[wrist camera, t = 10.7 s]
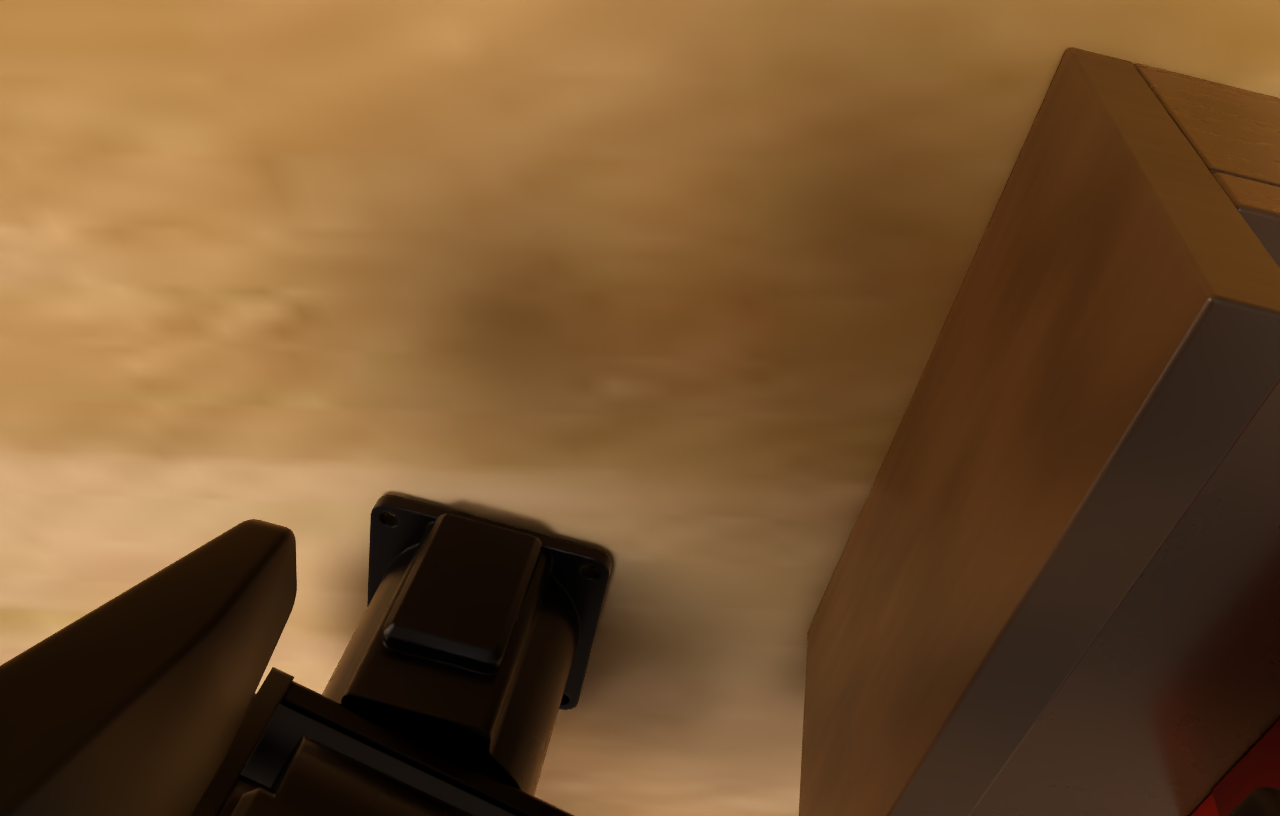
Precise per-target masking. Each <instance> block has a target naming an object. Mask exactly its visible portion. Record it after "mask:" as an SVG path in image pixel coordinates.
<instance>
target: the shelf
mask: <svg viewBox="0 0 1280 816" xmlns="http://www.w3.org/2000/svg"><path fill="white" fill-rule="evenodd" d="M1279 719H1280V99H1279V98H1275V97H1271V96H1267V95H1263V94H1259V93H1255V92H1251V91H1247V90H1243V89H1239V88H1235V87H1231V86H1227V85H1223V84H1219V83H1215V82H1211V81H1207V80H1203V79H1199V78H1194V77H1190V76H1186V75H1182V74H1178V73H1174V72H1170V71H1166V70H1162V69H1158V68H1154V67H1150V66H1146V65H1142V64H1135V65H1133V64H1132V63H1131V62H1129V61H1125V60H1121V59H1117V58H1112V57H1108V56H1104V55H1100V54H1096V53H1092V52H1088V51H1084V50H1080V49H1076V48H1068V49H1067V50H1066V52H1065V54H1064V56H1063V58H1062V61H1061V63H1060V65H1059V67H1058V70H1057V72H1056V74H1055V76H1054V79H1053V81H1052V83H1051V85H1050V88H1049V90H1048V92H1047V94H1046V97H1045V99H1044V101H1043V103H1042V106H1041V108H1040V110H1039V113H1038V115H1037V117H1036V119H1035V122H1034V124H1033V126H1032V128H1031V131H1030V133H1029V135H1028V137H1027V140H1026V142H1025V144H1024V146H1023V149H1022V151H1021V153H1020V155H1019V158H1018V160H1017V162H1016V164H1015V167H1014V169H1013V171H1012V173H1011V176H1010V178H1009V180H1008V182H1007V185H1006V187H1005V189H1004V191H1003V194H1002V196H1001V198H1000V200H999V203H998V205H997V207H996V209H995V212H994V214H993V216H992V218H991V221H990V223H989V225H988V227H987V230H986V232H985V234H984V236H983V239H982V241H981V243H980V245H979V248H978V250H977V252H976V254H975V257H974V259H973V261H972V263H971V266H970V268H969V270H968V273H967V275H966V277H965V279H964V282H963V284H962V286H961V288H960V291H959V293H958V295H957V297H956V300H955V302H954V304H953V306H952V309H951V311H950V313H949V315H948V318H947V320H946V322H945V324H944V327H943V329H942V331H941V333H940V336H939V338H938V340H937V342H936V345H935V347H934V349H933V351H932V354H931V356H930V358H929V360H928V363H927V365H926V367H925V369H924V372H923V374H922V376H921V378H920V381H919V383H918V385H917V387H916V390H915V392H914V394H913V396H912V399H911V401H910V403H909V405H908V408H907V410H906V412H905V414H904V417H903V419H902V421H901V424H900V426H899V428H898V430H897V433H896V435H895V437H894V439H893V442H892V444H891V446H890V448H889V451H888V453H887V455H886V457H885V460H884V462H883V464H882V466H881V469H880V471H879V473H878V475H877V478H876V480H875V482H874V484H873V487H872V489H871V491H870V493H869V496H868V498H867V500H866V502H865V505H864V507H863V509H862V511H861V514H860V516H859V518H858V520H857V523H856V525H855V527H854V529H853V532H852V534H851V536H850V538H849V541H848V543H847V545H846V547H845V550H844V552H843V554H842V556H841V559H840V561H839V563H838V565H837V568H836V570H835V572H834V574H833V577H832V579H831V581H830V584H829V586H828V588H827V590H826V593H825V595H824V597H823V599H822V602H821V604H820V606H819V608H818V611H817V613H816V615H815V617H814V620H813V622H812V624H811V626H810V629H809V631H808V637H807V658H806V678H805V699H804V720H803V740H802V761H801V781H800V802H799V816H1190V815H1191V814H1192V813H1193V812H1194V811H1195V810H1196V809H1197V808H1198V807H1199V806H1200V805H1201V804H1202V803H1203V802H1204V801H1205V800H1206V799H1207V798H1208V796H1209V795H1210V794H1211V793H1212V790H1213V788H1214V787H1215V786H1216V785H1217V784H1218V783H1219V782H1220V781H1221V780H1222V779H1223V778H1224V777H1225V775H1226V774H1227V773H1228V772H1229V771H1230V770H1231V769H1232V768H1233V767H1234V766H1235V765H1236V764H1237V763H1238V762H1239V761H1240V760H1241V759H1242V758H1243V756H1244V755H1245V754H1246V753H1247V752H1248V751H1249V750H1250V749H1251V748H1252V747H1253V746H1254V745H1255V744H1256V743H1257V742H1258V741H1259V740H1260V739H1261V738H1262V736H1263V735H1264V734H1265V733H1266V732H1267V731H1268V730H1269V729H1270V728H1271V727H1272V726H1273V725H1274V724H1275V723H1276V722H1277V721H1278V720H1279Z"/></svg>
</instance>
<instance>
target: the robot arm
mask: <svg viewBox="0 0 1280 816" xmlns="http://www.w3.org/2000/svg"><path fill="white" fill-rule="evenodd" d="M388 512H390V513H392V514H394V515H395V516H393V515H390V514H389V513H388ZM587 565H592V566H594V567H596V568H597V569H595V568H590V567H588V566H587ZM611 568H612V561H611V559H610V557H609V556H608V555H607V554H606V553H605V552H604V551H601V550H599V549H596V548H593V547H589V546H585V545H581V544H577V543H574V542H570V541H566V540H562V539H558V538H554V537H551V536H547V535H543V534H539V533H535V532H532V531H528V530H524V529H520V528H516V527H513V526H509V525H505V524H501V523H497V522H493V521H490V520H486V519H482V518H478V517H474V516H471V515H467V514H463V513H459V512H455V511H452V510H448V509H444V508H440V507H436V506H432V505H429V504H425V503H421V502H417V501H413V500H410V499H406V498H402V497H398V496H393V495H386V496H382V497H381V498H380V499H379V500H378V501H377V503H376V504H375V506H374V508H373V510H372V513H371V526H370V553H369V580H368V607H367V610H366V611H365V613H364V615H363V617H362V619H361V621H360V623H359V625H358V627H357V629H356V631H355V633H354V634H353V636H352V638H351V640H350V642H349V644H348V646H347V648H346V650H345V652H344V654H343V656H342V657H341V659H340V661H339V663H338V665H337V667H336V669H335V671H334V673H333V675H332V677H331V678H330V680H329V682H328V684H327V686H326V688H325V690H324V692H323V694H322V695H321V694H319V693H317V692H315V691H313V690H311V689H308V688H306V687H304V686H302V685H300V684H298V683H296V682H294V681H292V680H293V679H294V677H293V676H291V675H289V674H287V673H285V672H283V671H281V670H278V669H276V668H274V667H273V668H272V669H271V671H270V673H269V674H268V676H267V678H266V679H265V681H264V683H263V684H262V686H261V688H260V689H259V691H258V693H257V694H255V691H256V689H257V687H258V685H259V682H260V680H261V678H262V676H263V673H264V671H265V669H266V667H267V665H268V662H269V660H270V658H271V656H272V653H273V651H274V649H275V647H276V645H277V642H278V640H279V638H280V636H281V633H282V631H283V629H284V627H285V624H286V622H287V620H288V618H289V616H290V613H291V611H292V608H293V605H294V601H295V597H296V591H297V578H296V541H295V536H294V534H293V532H292V531H291V529H288V528H287V527H283V526H280V525H276V524H272V523H268V522H264V521H261V520H255V519H252V520H247V521H244V522H242V523H240V524H238V525H237V526H235V527H233V528H232V529H230V530H228V531H227V532H225V533H223V534H221V535H220V536H218V537H216V538H215V539H213V540H211V541H210V542H208V543H206V544H205V545H203V546H201V547H200V548H198V549H196V550H195V551H193V552H191V553H189V554H188V555H186V556H184V557H183V558H181V559H179V560H178V561H176V562H174V563H173V564H171V565H169V566H168V567H166V568H164V569H163V570H161V571H159V572H158V573H156V574H154V575H152V576H151V577H149V578H147V579H146V580H144V581H142V582H141V583H139V584H137V585H136V586H134V587H132V588H131V589H129V590H127V591H126V592H124V593H122V594H120V595H119V596H117V597H115V598H114V599H112V600H110V601H109V602H107V603H105V604H104V605H102V606H100V607H99V608H97V609H95V610H94V611H92V612H90V613H88V614H87V615H85V616H83V617H82V618H80V619H78V620H77V621H75V622H73V623H72V624H70V625H68V626H67V627H65V628H63V629H62V630H60V631H58V632H57V633H55V634H53V635H51V636H50V637H48V638H46V639H45V640H43V641H41V642H40V643H38V644H36V645H35V646H33V647H31V648H30V649H28V650H26V651H25V652H23V653H21V654H19V655H18V656H16V657H14V658H13V659H11V660H9V661H8V662H6V663H4V664H3V665H1V666H0V816H574V815H572V814H570V813H567V812H565V811H563V810H561V809H559V808H557V807H555V806H553V805H551V804H549V803H547V802H544V801H542V800H540V799H538V798H536V797H534V794H535V791H536V787H537V784H538V780H539V777H540V773H541V770H542V766H543V763H544V759H545V756H546V752H547V749H548V745H549V742H550V738H551V735H552V731H553V728H554V724H555V721H556V717H557V714H558V710H559V709H563V710H568V709H572V708H574V707H576V705H577V703H578V700H579V696H580V693H581V689H582V685H583V681H584V677H585V673H586V669H587V664H588V660H589V656H590V652H591V648H592V644H593V640H594V636H595V632H596V628H597V624H598V620H599V616H600V612H601V608H602V604H603V600H604V596H605V592H606V588H607V584H608V580H609V576H610V572H611ZM1228 816H1280V790H1279V789H1275V788H1271V787H1261V788H1257V789H1255V790H1253V791H1252V792H1251V793H1250V794H1249V795H1248V796H1247V797H1246V798H1245V799H1244V800H1243V801H1242V802H1241V803H1240V804H1239V805H1238V806H1237V807H1236V808H1235V809H1234V810H1233V811H1232V812H1231V813H1230V814H1229V815H1228Z"/></svg>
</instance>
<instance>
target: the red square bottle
mask: <svg viewBox="0 0 1280 816" xmlns="http://www.w3.org/2000/svg"><path fill="white" fill-rule="evenodd" d="M1261 787H1271V788H1275V789H1279V790H1280V719H1279V720H1278V721H1277V722H1276V723H1275V724H1274V725H1273V726H1272V727H1271V728H1270V729H1269V730H1268V731H1267V732H1266V733H1265V734H1264V735H1263V736H1262V738H1261V739H1260V740H1259V741H1258V742H1257V743H1256V744H1255V745H1254V746H1253V747H1252V748H1251V749H1250V750H1249V751H1248V752H1247V753H1246V754H1245V755H1244V756H1243V758H1242V759H1241V760H1240V761H1239V762H1238V763H1237V764H1236V765H1235V766H1234V767H1233V768H1232V769H1231V770H1230V771H1229V772H1228V773H1227V774H1226V775H1225V777H1224V778H1223V779H1222V780H1221V781H1220V782H1219V783H1218V784H1217V785H1216V786H1215V787H1214V788H1213V790H1212V793H1211V794H1210V795H1209V796H1208V798H1207V799H1206V800H1205V801H1204V802H1203V803H1202V804H1201V805H1200V806H1199V807H1198V808H1197V809H1196V810H1195V811H1194V812H1193V813H1192V814H1191V815H1190V816H1228V815H1229V814H1230V813H1231V812H1232V811H1233V810H1234V809H1235V808H1236V807H1237V806H1238V805H1239V804H1240V803H1241V802H1242V801H1243V800H1244V799H1245V798H1246V797H1247V796H1248V795H1249V794H1250V793H1251V792H1252V791H1253V790H1255V789H1257V788H1261Z"/></svg>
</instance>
